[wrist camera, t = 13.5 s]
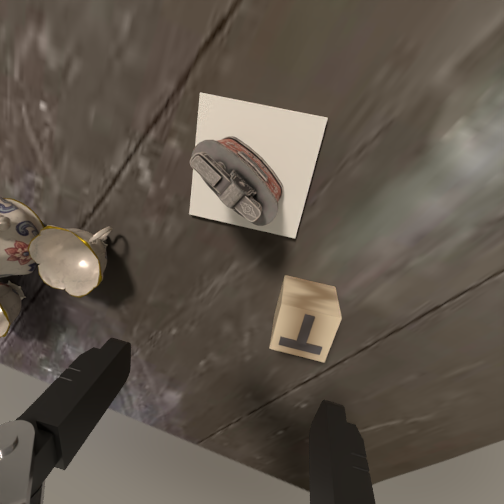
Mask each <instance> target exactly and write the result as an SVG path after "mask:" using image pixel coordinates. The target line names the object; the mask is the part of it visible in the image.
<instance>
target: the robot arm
mask: <svg viewBox="0 0 504 504" xmlns="http://www.w3.org/2000/svg"><path fill="white" fill-rule="evenodd" d="M130 363H131V344H130V343H129V342H125V341H122V340H118V339H115V338H111V339H109V340H108V341H107V342H106V343H105V344H104V345H103V346H102V348H101V349H98V348H94V347H93V348H92V349H90V350H88V351H86V352H85V353H83V354H81V355H80V356H79V357H78V358H77V359H76V360H75V361H74V362H73V363H72V364H71V365H70V366H69V368H68V369H66V370H65V371H64V372H63V373H62V374H61V375H60V377H59V378H57V379H56V380H55V381H54V382H53V383H52V384H51V385H50V386H49V388H47V389H46V390H45V392H44V393H43V394H42V395H41V396H40V397H39V398H38V399H37V400H36V401H35V402H34V403H33V404H32V405H31V406H30V407H29V408H28V409H27V410H26V411H25V412H24V413H23V414H22V415H21V416H20V417H19V418H17V419H16V420H14V421H9V422H6V423H4V424H1V425H0V504H43V499H44V488H45V479H46V478H47V476H48V475H49V473H50V472H51V471H52V469H53V468H54V467H56V468H60V469H63V470H65V469H66V468H67V466H68V465H69V463H70V462H71V461H72V459H73V457H74V456H75V455H76V453H77V452H78V450H79V449H80V447H81V446H82V444H83V443H84V442H85V440H86V439H87V437H88V436H89V434H90V433H91V432H92V430H93V429H94V427H95V426H96V424H97V423H98V422H99V420H100V419H101V417H102V416H103V414H104V413H105V411H106V410H107V409H108V407H109V406H110V404H111V403H112V401H113V400H114V398H115V397H116V395H117V394H118V393H119V391H120V390H121V388H122V387H123V385H124V384H125V382H126V380H127V378H128V376H129V373H130ZM309 468H310V504H375V499H374V494H373V488H372V483H371V478H370V474H369V467H368V462H367V460H366V451H365V446H364V441H363V439H362V437H361V435H360V433H359V431H358V429H357V427H356V425H354V424H351V423H348V422H347V421H346V414H345V409H344V406H343V405H340V404H337V403H333V402H330V401H327V400H323V401H322V403H321V405H320V407H319V409H318V411H317V413H316V415H315V417H314V419H313V422H312V424H311V428H310V434H309Z"/></svg>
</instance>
